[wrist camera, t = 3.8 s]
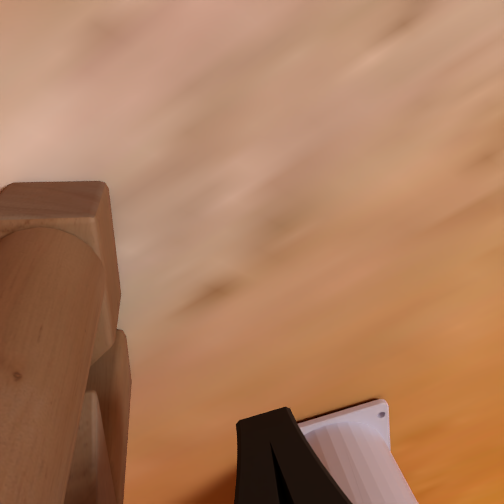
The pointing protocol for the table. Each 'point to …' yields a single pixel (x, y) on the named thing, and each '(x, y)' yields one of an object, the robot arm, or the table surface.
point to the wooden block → (61, 347)
